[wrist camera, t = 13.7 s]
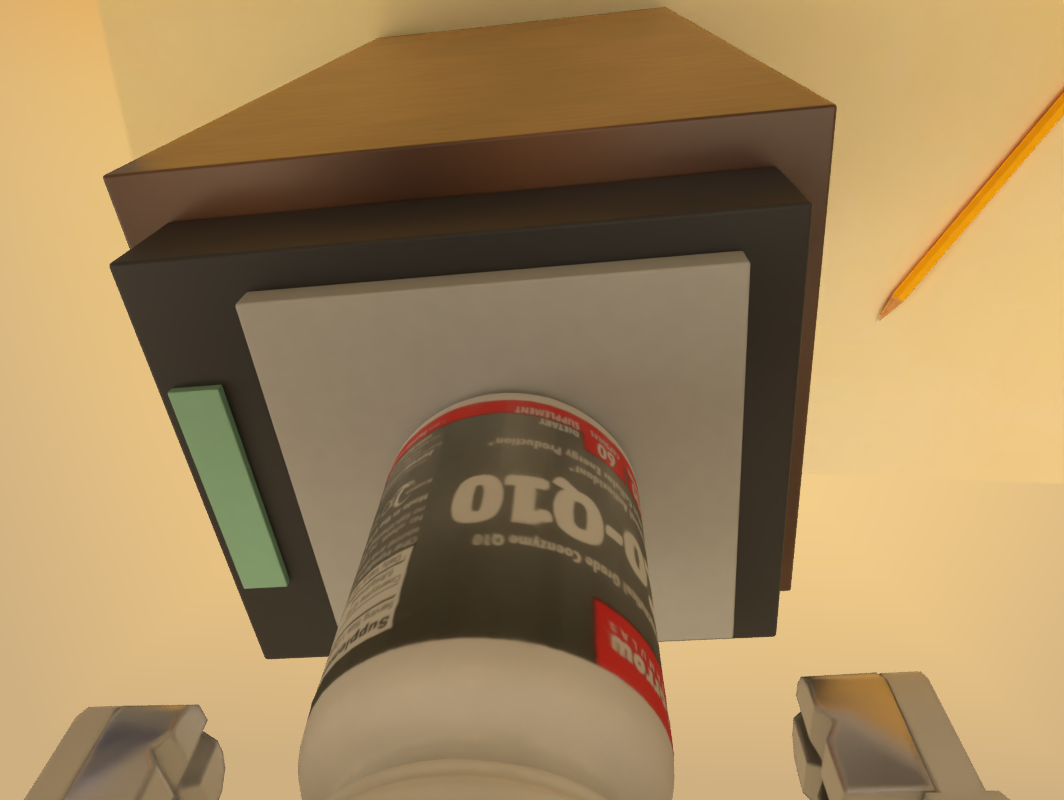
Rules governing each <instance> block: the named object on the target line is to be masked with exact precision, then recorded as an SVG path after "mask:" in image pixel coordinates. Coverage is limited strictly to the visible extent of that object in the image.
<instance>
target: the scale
mask: <svg viewBox="0 0 1064 800" xmlns="http://www.w3.org/2000/svg"><path fill="white" fill-rule="evenodd" d="M812 209H813V204H812V202H811V201H810V200H809V199H808V198H807V197H806V196H805V195H804V194H803V193H802V192H801V191H800V190H799V189H798V188H797V187H796V186H795V185H794V184H793V183H792V182H791V181H790V180H789V179H788V178H787V177H786V176H785V174H784V173H783V172H782V171H781V170H780V169H779V168H777V167H768V168H757V169H746V170H735V171H724V172H713V173H703V174H692V175H681V176H670V177H659V178H648V179H637V180H626V181H615V182H604V183H593V184H582V185H571V186H560V187H549V188H539V189H528V190H517V191H506V192H495V193H484V194H473V195H462V196H451V197H440V198H429V199H418V200H407V201H396V202H385V203H374V204H364V205H353V206H342V207H331V208H320V209H309V210H298V211H287V212H276V213H265V214H254V215H243V216H232V217H221V218H210V219H199V220H189V221H178V222H169V223H167V224H166V225H164V226H163V227H161V228H160V229H159V230H157V231H156V232H154V233H153V234H152V235H150V236H149V237H147V238H146V239H144V240H143V241H142V242H140V243H139V244H137V245H136V246H135V247H133V248H132V249H130V250H129V251H127V252H126V253H125V254H123V255H122V256H120V257H119V258H118V259H116V260H115V261H113V262H112V263H111V264H110V269H111V272H112V274H113V277H114V279H115V282H116V284H117V287H118V290H119V292H120V294H121V297H122V299H123V302H124V305H125V307H126V309H127V312H128V314H129V317H130V320H131V322H132V325H133V327H134V329H135V332H136V335H137V337H138V340H139V342H140V345H141V347H142V349H143V352H144V355H145V357H146V360H147V362H148V364H149V367H150V370H151V372H152V375H153V377H154V380H155V382H156V385H157V388H158V390H159V393H160V395H161V397H162V400H163V403H164V405H165V408H166V410H167V413H168V415H169V418H170V420H171V423H172V425H173V428H174V430H175V433H176V435H177V438H178V440H179V443H180V445H181V448H182V450H183V453H184V455H185V458H186V460H187V463H188V465H189V468H190V470H191V473H192V475H193V478H194V481H195V483H196V486H197V488H198V491H199V493H200V496H201V498H202V500H203V503H204V506H205V508H206V511H207V513H208V515H209V518H210V521H211V523H212V526H213V528H214V531H215V533H216V536H217V538H218V541H219V543H220V546H221V548H222V551H223V553H224V556H225V558H226V561H227V563H228V566H229V568H230V571H231V573H232V576H233V579H234V581H235V584H236V586H237V589H238V591H239V593H240V596H241V599H242V601H243V604H244V606H245V609H246V611H247V614H248V616H249V619H250V621H251V624H252V626H253V628H254V631H255V633H256V636H257V639H258V641H259V644H260V646H261V649H262V651H263V654H264V656H265V658H266V659H281V658H282V659H284V658H305V657H328V656H329V654H330V651H331V648H332V645H333V642H334V639H335V636H336V633H337V630H338V626H339V623H340V620H341V617H342V614H343V611H344V609H345V606H346V603H347V600H348V597H349V594H350V591H351V588H352V585H353V582H354V579H355V576H356V573H357V570H358V567H359V564H360V561H361V558H362V555H363V552H364V549H365V546H366V543H367V540H368V537H369V533H370V530H371V527H372V524H373V521H374V518H375V515H376V512H377V510H378V507H379V503H380V500H381V497H382V494H383V491H384V488H385V483H386V481H387V478H388V475H389V473H390V471H391V468H392V466H393V464H394V461H395V459H396V457H397V455H398V453H399V451H400V449H401V448H402V446H403V445H404V443H405V442H406V441H407V440H408V438H409V437H410V436H411V435H412V434H413V433H414V432H415V431H416V430H417V429H418V428H419V427H420V426H421V425H422V424H423V423H425V422H426V421H427V420H429V419H430V418H431V417H433V416H434V415H436V414H437V413H439V412H440V411H442V410H444V409H446V408H447V407H449V406H452V405H454V404H456V403H458V402H461V401H464V400H467V399H470V398H474V397H478V396H482V395H487V394H496V393H523V394H532V395H539V396H543V397H548V398H551V399H555V400H557V401H560V402H563V403H565V404H568V405H570V406H572V407H574V408H576V409H578V410H579V411H581V412H583V413H584V414H586V415H588V416H589V417H590V418H592V419H593V420H595V421H596V422H597V423H598V424H600V425H601V426H602V427H603V428H604V429H605V430H606V431H607V432H608V433H609V434H610V435H611V436H612V437H613V438H614V439H615V440H616V441H617V443H618V444H619V445H620V447H621V448H622V450H623V451H624V453H625V454H626V456H627V458H628V460H629V462H630V464H631V466H632V469H633V472H634V475H635V479H636V483H637V487H638V494H639V499H640V508H641V515H642V525H643V532H644V539H645V548H646V556H647V563H648V571H649V577H650V585H651V591H652V598H653V605H654V615H655V624H656V631H657V638H658V642H663V641H684V640H705V639H730V638H752V637H773V636H775V635H776V628H777V617H778V604H779V594H780V582H781V570H782V559H783V547H784V535H785V524H786V512H787V500H788V489H789V477H790V466H791V454H792V442H793V431H794V419H795V407H796V396H797V384H798V372H799V361H800V349H801V338H802V326H803V314H804V303H805V291H806V279H807V268H808V256H809V244H810V233H811V221H812Z"/></svg>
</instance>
